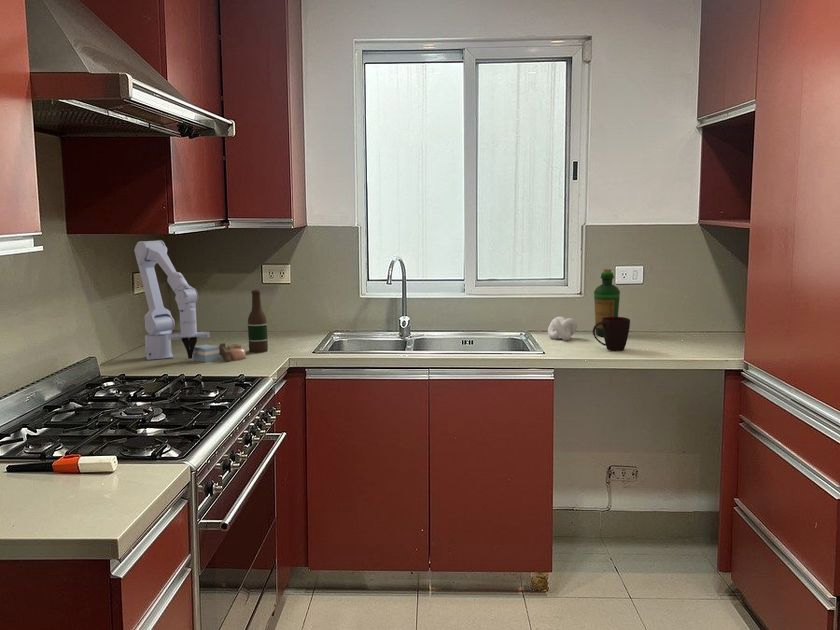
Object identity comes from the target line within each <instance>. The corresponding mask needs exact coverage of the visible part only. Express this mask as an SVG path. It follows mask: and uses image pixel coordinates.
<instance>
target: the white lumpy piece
mask: <svg viewBox="0 0 840 630" xmlns="http://www.w3.org/2000/svg"><path fill="white" fill-rule="evenodd" d="M577 329H578V322H577V321H576V319H574V318H571V317H569V318H565V317H564V316H557V317H554V318H553V319H552V320H551V322H550V324H549V325H548V328H547V335H548V337H549V338H550V339H551V340H558V339H559V338H561V339H562V341H563V340H564V341H565V342H566V341H567V342H568V341H569V340H570V339H571V337H572V336H573V335H574V334H575V333H576V331H577Z"/></svg>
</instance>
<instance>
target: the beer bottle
mask: <svg viewBox="0 0 840 630" xmlns="http://www.w3.org/2000/svg"><path fill="white" fill-rule="evenodd" d="M261 293H262V292H261V290H260V289H253V290H251V310H250V312H249V314H248V318H247V331H248V332H247V333H248V351H249V353H254V354H256V353H257V354H259V353H266V352H268V349H269V348H268V347H269V345H268V343H269V342H268V323H267V322H268V321H267V316H266V314H265V313H264V311H263V308H262V302H261V301H262V300H261Z"/></svg>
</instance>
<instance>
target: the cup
mask: <svg viewBox="0 0 840 630" xmlns="http://www.w3.org/2000/svg"><path fill="white" fill-rule="evenodd" d="M600 324H602V327H603V334H604V337H603V340H604V342H602V341H600V339H599V338H598V336H597V335H596V327H597V326H598V325H600ZM630 326H631V319H630V318H628V317H624V316H618V317H605V318H602V322H599V323H597V324H596V325H594V326H593V328H592V334H593V337H594V339H595V340H596V341H597V342H598V343H599V344H601V345H603V346H605V347H606V350H607V351H609V352H623V351H624V350H625V349H626V345H627V341H628V338H629V334H630V333H629V332H630V328H631V327H630Z"/></svg>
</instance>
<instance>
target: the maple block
mask: <svg viewBox="0 0 840 630" xmlns="http://www.w3.org/2000/svg"><path fill="white" fill-rule="evenodd" d="M226 347H227V349H228V350H230V349H235V348H242V345H241V344H238V343H236V344H235V343H234V344H227V346H226Z"/></svg>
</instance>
